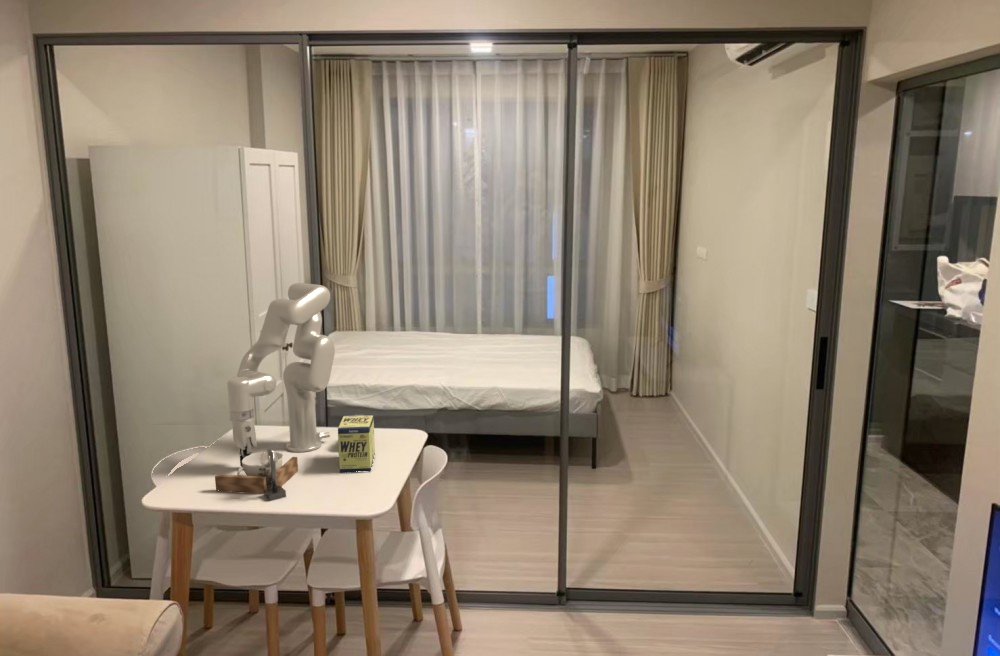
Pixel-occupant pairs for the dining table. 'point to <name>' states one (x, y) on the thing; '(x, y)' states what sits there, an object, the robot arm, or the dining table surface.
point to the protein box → (356, 443)
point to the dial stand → (272, 476)
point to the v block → (255, 479)
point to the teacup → (258, 466)
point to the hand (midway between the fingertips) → (246, 466)
